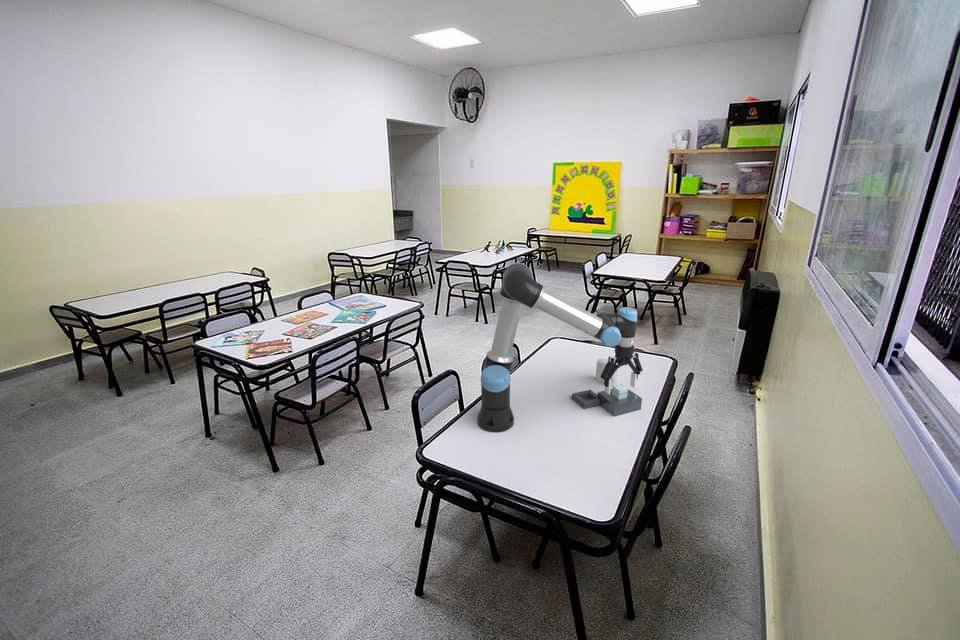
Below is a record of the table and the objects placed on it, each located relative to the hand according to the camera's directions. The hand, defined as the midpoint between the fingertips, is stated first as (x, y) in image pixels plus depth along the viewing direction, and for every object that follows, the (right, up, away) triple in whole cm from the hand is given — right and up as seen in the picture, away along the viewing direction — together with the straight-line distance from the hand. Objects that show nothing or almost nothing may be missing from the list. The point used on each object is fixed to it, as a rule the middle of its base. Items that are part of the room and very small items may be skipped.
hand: (620, 389), depth 189 cm
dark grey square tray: (-12, -7, +7) cm, 16 cm away
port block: (0, -8, +3) cm, 9 cm away
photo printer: (+1, -1, +24) cm, 25 cm away
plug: (0, -7, +3) cm, 8 cm away
